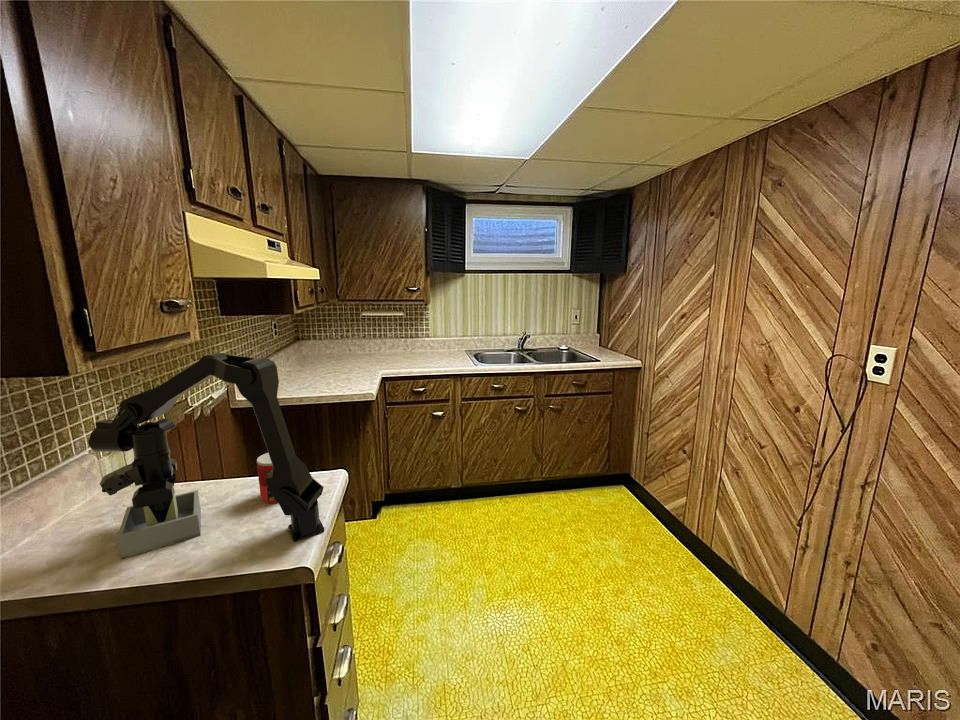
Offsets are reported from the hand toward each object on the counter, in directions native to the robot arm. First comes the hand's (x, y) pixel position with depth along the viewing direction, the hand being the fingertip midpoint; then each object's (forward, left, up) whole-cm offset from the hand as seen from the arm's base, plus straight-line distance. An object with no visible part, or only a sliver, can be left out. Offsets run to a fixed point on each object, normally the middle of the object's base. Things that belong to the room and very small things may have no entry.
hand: (162, 515), depth 86 cm
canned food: (+2, -23, -4) cm, 23 cm away
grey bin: (0, 0, -4) cm, 4 cm away
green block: (0, 0, -1) cm, 1 cm away
